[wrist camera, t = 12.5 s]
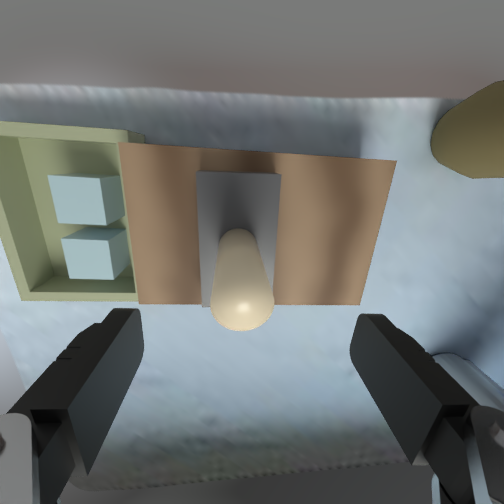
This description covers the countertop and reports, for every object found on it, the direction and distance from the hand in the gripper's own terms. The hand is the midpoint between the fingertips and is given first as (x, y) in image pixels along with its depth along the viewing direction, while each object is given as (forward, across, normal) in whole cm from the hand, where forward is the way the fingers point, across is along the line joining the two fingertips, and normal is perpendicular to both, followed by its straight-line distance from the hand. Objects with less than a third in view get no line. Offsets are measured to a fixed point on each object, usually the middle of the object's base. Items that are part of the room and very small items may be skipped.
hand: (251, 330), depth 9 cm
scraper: (+13, 0, 0) cm, 13 cm away
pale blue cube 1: (+16, +12, -2) cm, 20 cm away
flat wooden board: (+19, -2, 0) cm, 19 cm away
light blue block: (+16, +12, +4) cm, 21 cm away
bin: (+19, +16, +1) cm, 24 cm away
